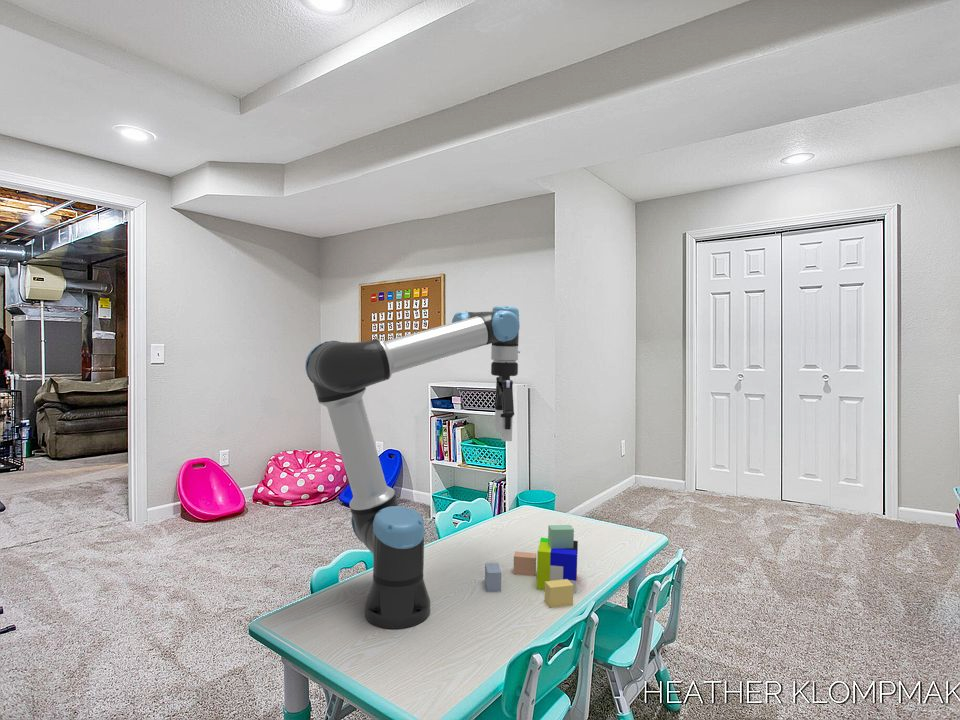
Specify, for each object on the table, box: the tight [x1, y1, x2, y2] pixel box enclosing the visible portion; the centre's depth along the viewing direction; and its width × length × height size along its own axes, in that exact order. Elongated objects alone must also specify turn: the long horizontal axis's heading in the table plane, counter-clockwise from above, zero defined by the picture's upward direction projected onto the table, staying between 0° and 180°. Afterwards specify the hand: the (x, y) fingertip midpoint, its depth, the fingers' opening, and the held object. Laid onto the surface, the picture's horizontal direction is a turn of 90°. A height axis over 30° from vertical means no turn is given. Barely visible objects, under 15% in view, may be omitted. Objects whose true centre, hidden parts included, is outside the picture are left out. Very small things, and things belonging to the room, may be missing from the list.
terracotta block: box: [512, 551, 537, 577], centre depth 154 cm, size 6×4×5 cm, turn 81°
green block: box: [547, 524, 575, 549], centre depth 147 cm, size 6×4×5 cm, turn 95°
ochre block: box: [543, 579, 574, 608], centre depth 136 cm, size 6×4×5 cm, turn 106°
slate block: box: [484, 562, 502, 593], centre depth 144 cm, size 6×4×5 cm, turn 6°
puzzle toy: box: [536, 537, 579, 594], centre depth 147 cm, size 10×10×10 cm
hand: (503, 436), depth 157 cm, fingers open, 13 cm apart
